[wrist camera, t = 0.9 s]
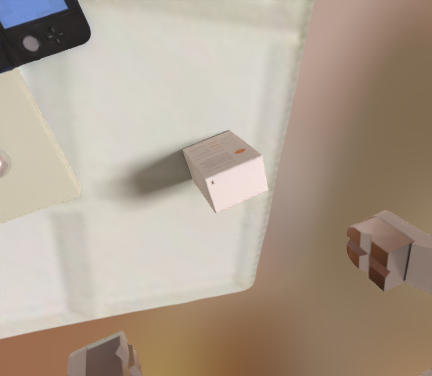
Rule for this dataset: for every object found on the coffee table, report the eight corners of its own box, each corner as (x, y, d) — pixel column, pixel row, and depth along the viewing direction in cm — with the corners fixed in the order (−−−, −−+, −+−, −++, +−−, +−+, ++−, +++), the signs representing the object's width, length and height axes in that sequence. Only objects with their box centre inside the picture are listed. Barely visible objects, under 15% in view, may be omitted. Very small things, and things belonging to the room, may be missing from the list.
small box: (191, 179, 47) (214, 215, 39) (181, 148, 44) (203, 179, 36) (237, 160, 49) (269, 191, 40) (230, 128, 46) (263, 154, 37)
